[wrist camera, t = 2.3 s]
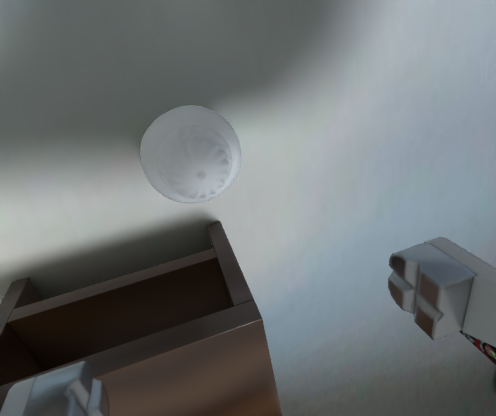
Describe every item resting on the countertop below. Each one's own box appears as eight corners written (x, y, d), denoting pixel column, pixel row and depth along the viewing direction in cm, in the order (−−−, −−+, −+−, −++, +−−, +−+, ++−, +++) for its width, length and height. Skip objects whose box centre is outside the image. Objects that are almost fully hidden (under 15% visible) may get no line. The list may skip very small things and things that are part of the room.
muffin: (241, 116, 23) (275, 141, 17) (212, 191, 25) (233, 237, 19) (155, 82, 21) (159, 97, 15) (129, 169, 23) (124, 214, 17)
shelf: (11, 281, 24) (-122, 522, 12) (220, 220, 27) (283, 367, 15) (74, 372, 29) (27, 601, 17) (243, 314, 32) (303, 477, 20)
